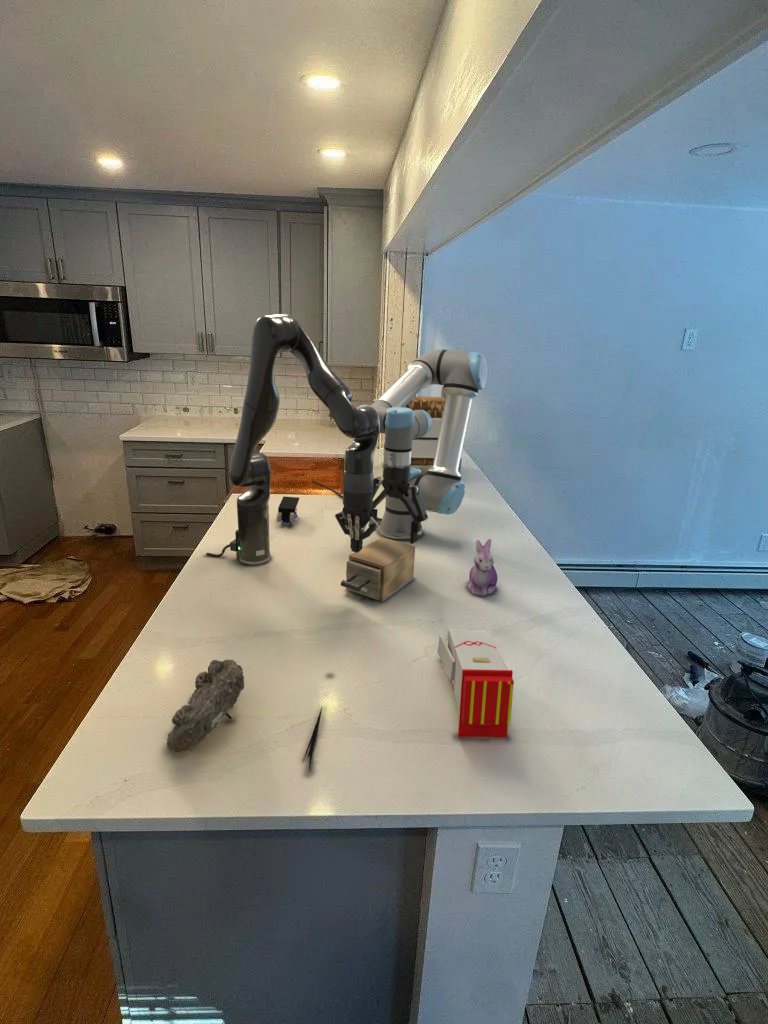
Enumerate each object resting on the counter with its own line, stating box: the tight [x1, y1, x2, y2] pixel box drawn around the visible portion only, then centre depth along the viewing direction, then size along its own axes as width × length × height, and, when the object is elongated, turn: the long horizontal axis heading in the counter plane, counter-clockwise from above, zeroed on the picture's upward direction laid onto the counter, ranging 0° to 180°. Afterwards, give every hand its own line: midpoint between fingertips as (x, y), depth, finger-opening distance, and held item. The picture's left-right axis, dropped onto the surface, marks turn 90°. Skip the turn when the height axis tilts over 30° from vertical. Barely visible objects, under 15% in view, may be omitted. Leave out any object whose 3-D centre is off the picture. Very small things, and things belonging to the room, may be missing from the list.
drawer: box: [340, 559, 381, 601], centre depth 157 cm, size 22×10×8 cm, turn 148°
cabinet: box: [348, 536, 416, 602], centre depth 161 cm, size 17×12×10 cm
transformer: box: [383, 386, 463, 475], centre depth 268 cm, size 34×33×41 cm
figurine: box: [467, 538, 498, 596], centre depth 160 cm, size 9×10×15 cm
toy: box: [437, 628, 515, 738], centre depth 117 cm, size 12×13×30 cm
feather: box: [301, 673, 332, 771], centre depth 108 cm, size 2×28×2 cm
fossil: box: [166, 658, 245, 754], centre depth 106 cm, size 22×10×15 cm
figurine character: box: [276, 495, 300, 527], centre depth 205 cm, size 7×8×15 cm
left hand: (356, 551), depth 147 cm, fingers closed
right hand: (392, 536), depth 163 cm, fingers open, 13 cm apart
